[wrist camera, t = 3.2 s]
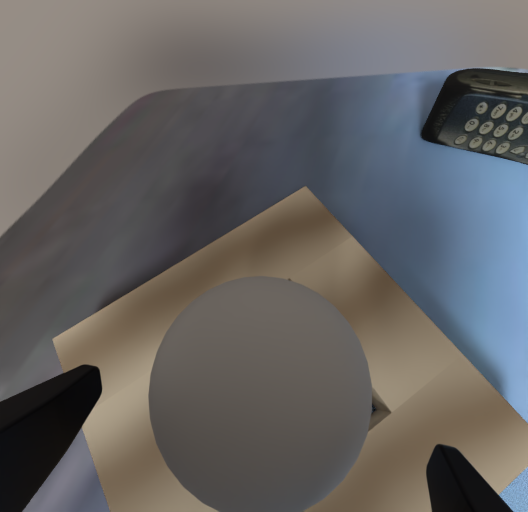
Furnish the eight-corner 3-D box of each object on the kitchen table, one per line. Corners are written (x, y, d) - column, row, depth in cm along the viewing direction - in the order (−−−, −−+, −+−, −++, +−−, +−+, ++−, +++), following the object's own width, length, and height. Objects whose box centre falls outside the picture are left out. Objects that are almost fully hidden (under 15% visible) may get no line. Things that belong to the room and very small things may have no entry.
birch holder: (507, 438, 14) (548, 446, 12) (218, 706, 11) (200, 783, 9) (303, 209, 20) (305, 185, 18) (82, 346, 18) (52, 339, 15)
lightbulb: (234, 318, 18) (165, 219, 8) (339, 343, 17) (416, 266, 7) (200, 435, 15) (36, 510, 5) (320, 472, 14) (397, 652, 4)
